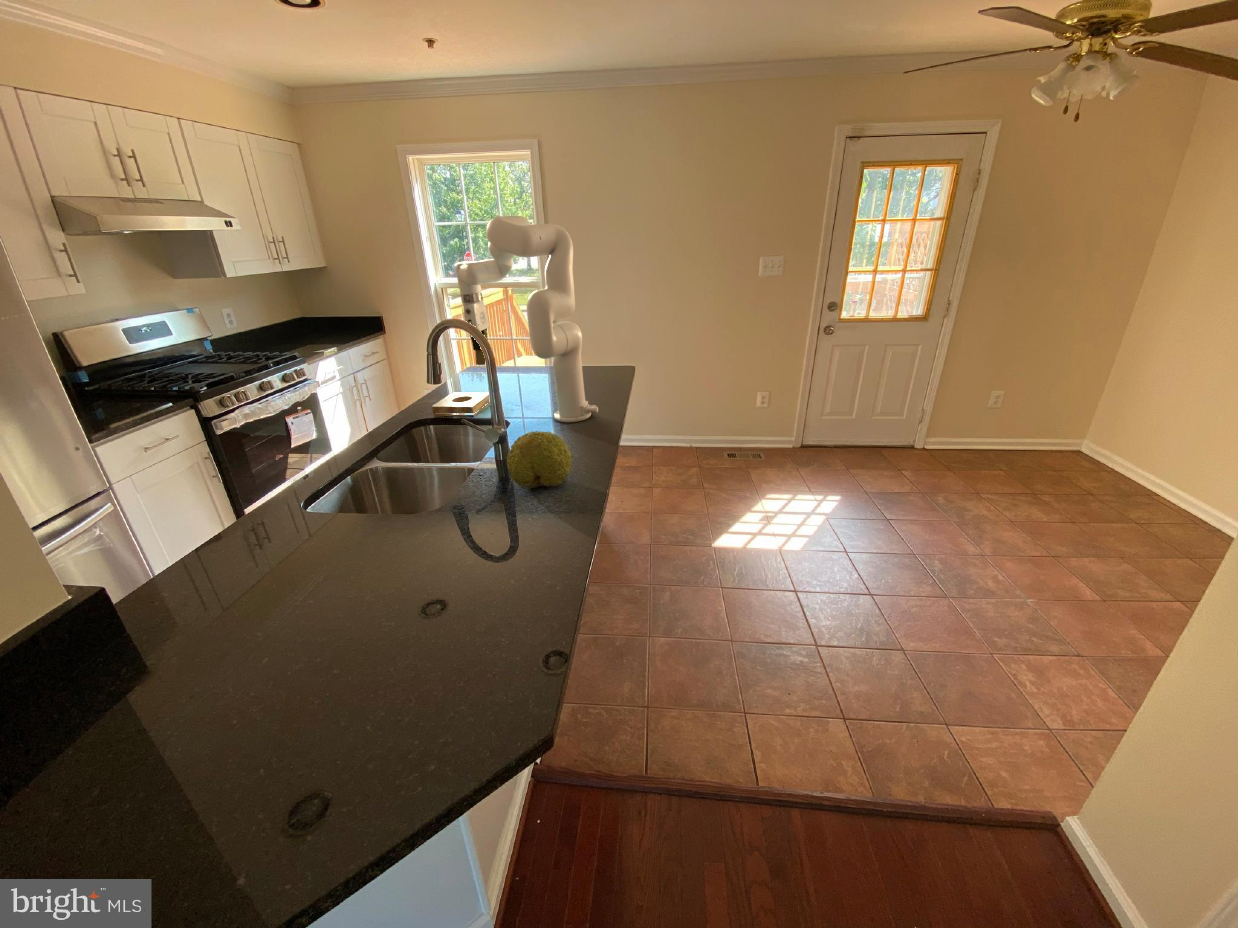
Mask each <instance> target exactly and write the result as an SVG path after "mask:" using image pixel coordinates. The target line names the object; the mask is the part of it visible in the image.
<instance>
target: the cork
mask: <svg viewBox="0 0 1238 928" xmlns="http://www.w3.org/2000/svg"><path fill="white" fill-rule="evenodd" d="M483 335H485V334H483ZM485 337H486V335H485ZM474 353H475V354H474V355H475V365H477V366H486V365H485V358H484V355H483V352H482V350H474Z"/></svg>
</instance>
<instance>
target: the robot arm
mask: <svg viewBox="0 0 1238 928" xmlns="http://www.w3.org/2000/svg"><path fill="white" fill-rule="evenodd" d="M485 233H486V238H487V240H488V243H487V249H488V252H489V254H490V256H491V258H492V259H484V260H478V261H477V260H476V261H461V262H457V263H456V264H455V266H454V267H455V268H454V269H455V274H456V279H457V284H458V289H459V294H460V295H459V296H460V299H461V305H462V308H463V309H462V310H463V318H464V322H465V321H467V322H468V323H471V324H472V325H474V326H476V328H477V329H479V330H480V331H481V332H482V334H485V335H486V338H487V340H488V341H489V339H488V332H487V331H488V328H489V327H490V322H489V317H488V313H487V312H488V311H487V309H486V305H485V303H484V299H483V291H482V286H481V285H485V284H492V283H497V282H500V281H502V280H503V279H504V278H505V277H506V276H507V275H508V274H510V272H511V271H512V269H513V263H514V261H513V258H514V257H515V256H516V257H519V258H533V257H540V256H549V257H548V259H547V262H546V265H545V268H544V278H545V279H544V280H545V287H544V288H541V289H537V290H534V291H533V292H532V293H530V295H529V296H528V298H527V302H526V316H527V317H526V318H527V325H528V326H527V327H528V334H529V342H530V347H531V349H532V351H533V353H534V355H535V356H536V357H537V358H539V359H543V360H547V359H551V358H553V362H552V370H553V371H552V372H553V379H554V386H555V394H556V403H557V411H556V412H555V413H554V414H553V415H554V419H555V420H556V421H557V422H561V423H577V422H581V421H584V420H587V419H589V418H590V417H591V415H592V413H593V414H594V413H595V414H596V413H597V414H598V413H599V407H598V406H597V404H589V400H586V394H585V393H586V392H585V383H584V373H583V362H582V360H583V359H582V350H583V333H582V330H581V328H580V327H579V326H578V324H577V323H575V322H573V321H569V320H566V321H560V322H556V323H553V322H554V321H558V320H562V319H565V318H569V317H570V316H572V315H573V314H574V313H575V310H576V296H575V295H576V294H575V280H574V245H573V240H572V237H571V236H570V234H569V232H568V231H567V230H566V229H565V228H564V227H563V226H561V225H558V224H554V223H537V224H531V222H530V221H529V219H527V218H526V217H524V216H521V215H500V216H499V215H497V216H494V217H492V218H491V219H490V220H489V221H488V223H487V225H486V230H485ZM467 335H468V336H469V337H470V340H471V344H472V349H473V351H475V350H481V349H480V346H479V344H478V343H477V342H476V340H474V338H473V337H471V335H469V334H467Z"/></svg>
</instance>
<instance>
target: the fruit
mask: <svg viewBox="0 0 1238 928" xmlns="http://www.w3.org/2000/svg"><path fill="white" fill-rule="evenodd" d="M507 453H508V454H507V455H506V462H505V463H506V465H507V470H508V471H507V472H508V473H509V475H510V479H512V481H513V482H514V483H515V484H516V485H518V486H520V487H521V488H526V489H533V488H538V487H543V486H545V487H547V488H550V487H557V486H559V485H560V484H561V483H563V482H565V480H566V479H567V477H568V476H569V474H570V470H571V467H572V466H571V465H572V462H573V456H572V451H570V447H569V446H568V444H567V442H566V440H565V439H563V438H562V437H560V436H558V435H557V434H556V433H553V432H551V431H543V430H542V431H540V430H539V431H538V430H536V431H529V432H528V433H524V434H522V435H521V436H519V437H517V439H516V440H515V441H513V444H511V445H510V449H509V450H508V452H507Z"/></svg>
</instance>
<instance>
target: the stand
mask: <svg viewBox="0 0 1238 928" xmlns="http://www.w3.org/2000/svg"><path fill="white" fill-rule="evenodd" d="M489 392H490V391H489ZM489 392H488V391H487V392H483V391H482V392H480V391H479V392H475V391H474V392H471V391H470V392H464V391H463V392H462V391H461V392H451V393H450V394H448V395H447V396H445V397H444V398H442V399H441V400H439V401H438V402H436V403H435V404H433V405H432V406H431V411H432V414H433V417H434V418H445V417H444V416H475V417H477V416H478V415H479V414H481V412H483V411H485V409H487V408H488V407H490V406H491V404H490V402H489ZM487 403H488V404H487ZM485 404H487V405H486V406H485ZM483 406H484V407H483ZM482 407H483V408H482ZM478 410H479V411H478ZM477 411H478V412H477ZM475 412H477V413H475ZM435 413H475V414H474V415H450V414H435ZM442 416H443V417H442Z"/></svg>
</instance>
